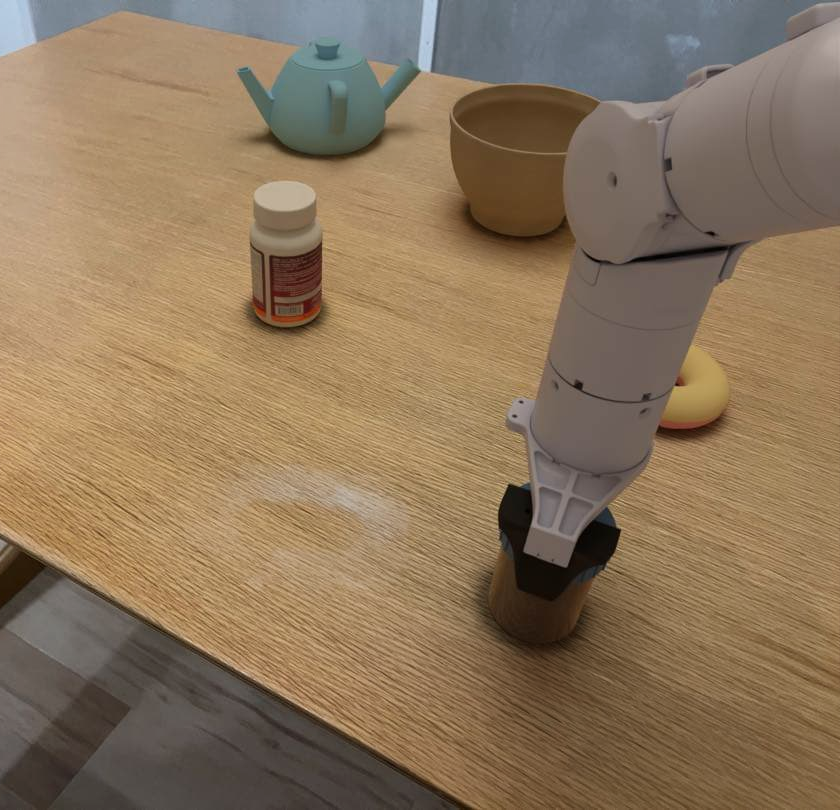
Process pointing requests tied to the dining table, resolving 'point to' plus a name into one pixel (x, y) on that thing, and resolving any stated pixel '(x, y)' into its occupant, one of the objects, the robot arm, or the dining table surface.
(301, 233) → the pill bottle
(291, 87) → the teapot
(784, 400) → the dining table surface
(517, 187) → the planter bowl
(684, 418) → the donut
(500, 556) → the jar
